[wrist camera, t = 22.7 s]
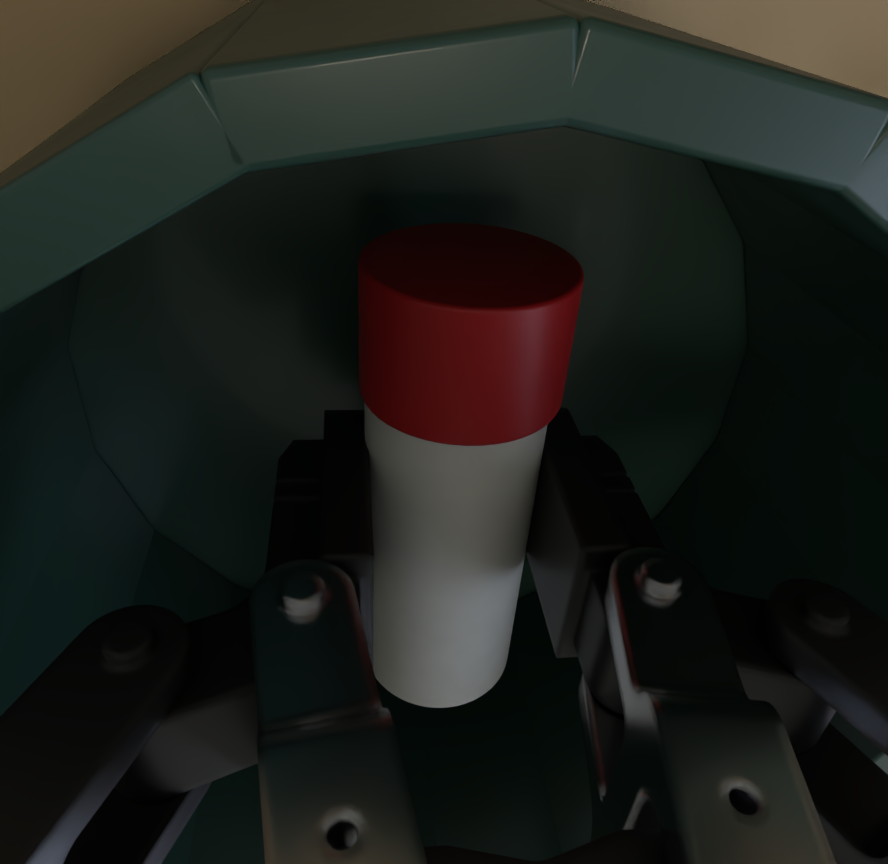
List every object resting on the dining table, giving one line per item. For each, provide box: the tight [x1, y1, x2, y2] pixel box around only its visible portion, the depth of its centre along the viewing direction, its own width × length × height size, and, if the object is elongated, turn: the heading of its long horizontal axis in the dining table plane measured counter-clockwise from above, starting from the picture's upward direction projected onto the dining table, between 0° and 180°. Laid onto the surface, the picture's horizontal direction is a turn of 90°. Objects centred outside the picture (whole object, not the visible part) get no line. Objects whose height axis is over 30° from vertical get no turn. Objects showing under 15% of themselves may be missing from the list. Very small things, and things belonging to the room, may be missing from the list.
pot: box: [0, 0, 888, 864], centre depth 12 cm, size 14×15×8 cm
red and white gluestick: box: [358, 223, 584, 708], centre depth 12 cm, size 8×3×3 cm, turn 177°
